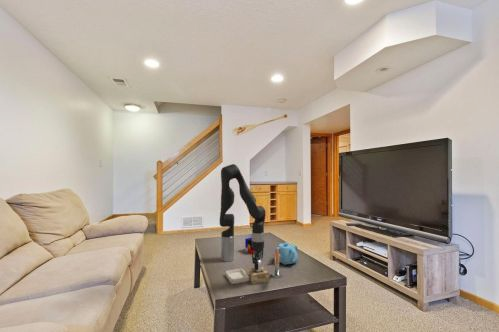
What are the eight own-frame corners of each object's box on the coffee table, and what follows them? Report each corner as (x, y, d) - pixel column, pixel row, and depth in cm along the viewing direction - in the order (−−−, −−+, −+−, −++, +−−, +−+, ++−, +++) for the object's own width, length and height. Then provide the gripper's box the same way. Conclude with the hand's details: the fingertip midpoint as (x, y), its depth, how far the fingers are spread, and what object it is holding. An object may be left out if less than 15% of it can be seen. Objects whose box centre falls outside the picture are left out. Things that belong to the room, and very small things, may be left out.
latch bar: (273, 265, 130) (273, 248, 130) (273, 255, 145) (273, 240, 146) (280, 265, 129) (280, 248, 129) (280, 255, 145) (280, 240, 145)
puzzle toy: (245, 251, 188) (245, 238, 188) (254, 248, 194) (254, 236, 194) (252, 254, 180) (252, 241, 180) (262, 251, 186) (262, 239, 186)
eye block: (247, 276, 141) (247, 268, 141) (261, 274, 144) (261, 266, 144) (253, 284, 131) (253, 275, 131) (269, 281, 135) (269, 272, 135)
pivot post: (270, 274, 144) (270, 256, 145) (278, 272, 147) (278, 255, 147) (274, 278, 139) (274, 259, 139) (283, 276, 141) (283, 258, 141)
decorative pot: (271, 263, 162) (271, 244, 162) (279, 256, 176) (279, 238, 176) (293, 268, 154) (293, 248, 154) (300, 260, 168) (300, 241, 168)
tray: (225, 274, 143) (225, 271, 143) (242, 272, 147) (242, 268, 147) (231, 284, 131) (231, 280, 131) (249, 281, 135) (249, 276, 135)
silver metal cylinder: (253, 277, 139) (252, 259, 139) (259, 276, 141) (259, 258, 141) (255, 281, 135) (255, 262, 135) (262, 279, 137) (262, 261, 137)
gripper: (259, 243, 131) (259, 274, 130) (267, 237, 144) (267, 265, 143) (247, 242, 134) (247, 271, 133) (256, 236, 147) (256, 263, 146)
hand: (257, 268), depth 138 cm, fingers closed on silver metal cylinder, 4 cm apart
